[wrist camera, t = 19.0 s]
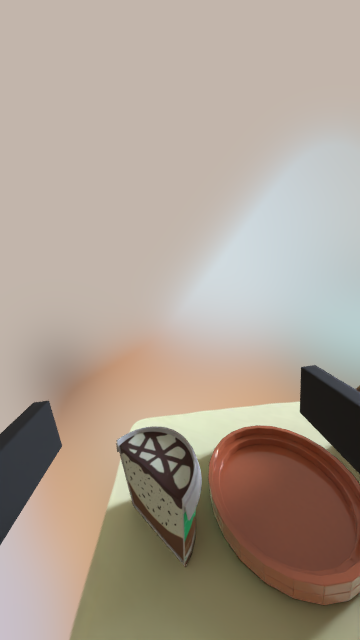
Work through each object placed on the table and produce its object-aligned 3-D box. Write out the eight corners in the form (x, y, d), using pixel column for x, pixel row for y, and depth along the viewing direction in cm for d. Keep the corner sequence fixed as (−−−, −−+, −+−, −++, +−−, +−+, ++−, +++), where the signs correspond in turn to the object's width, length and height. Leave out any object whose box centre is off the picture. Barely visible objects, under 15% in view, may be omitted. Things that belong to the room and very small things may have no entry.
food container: (227, 521, 24) (222, 453, 22) (196, 580, 20) (187, 503, 17) (159, 464, 32) (150, 411, 30) (126, 498, 28) (114, 438, 26)
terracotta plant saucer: (300, 432, 35) (301, 419, 35) (433, 588, 18) (439, 567, 17) (200, 446, 35) (199, 433, 34) (234, 623, 17) (233, 601, 16)
